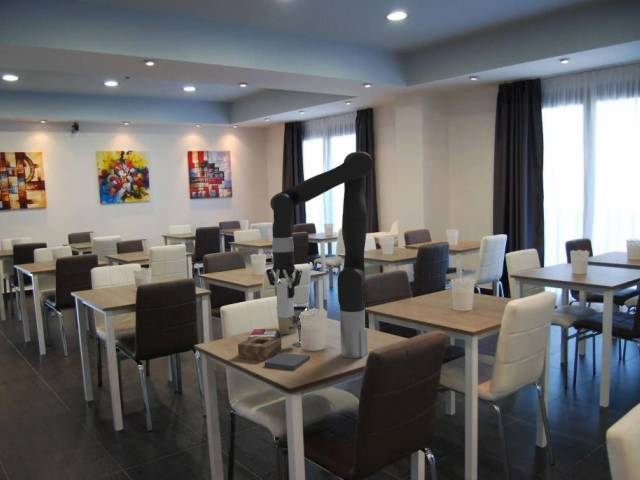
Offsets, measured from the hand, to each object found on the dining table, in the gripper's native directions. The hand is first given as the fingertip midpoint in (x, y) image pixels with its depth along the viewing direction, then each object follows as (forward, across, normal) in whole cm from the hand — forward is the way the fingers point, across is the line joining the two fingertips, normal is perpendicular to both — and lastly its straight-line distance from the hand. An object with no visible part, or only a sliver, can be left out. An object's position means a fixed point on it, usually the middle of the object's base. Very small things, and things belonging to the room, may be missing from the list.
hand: (285, 297), depth 191 cm
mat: (+24, 0, 0) cm, 24 cm away
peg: (+7, 0, 0) cm, 7 cm away
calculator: (+25, +23, -23) cm, 41 cm away
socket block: (+24, +15, -6) cm, 29 cm away
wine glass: (+24, +6, -22) cm, 33 cm away
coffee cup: (+24, +20, -38) cm, 49 cm away
